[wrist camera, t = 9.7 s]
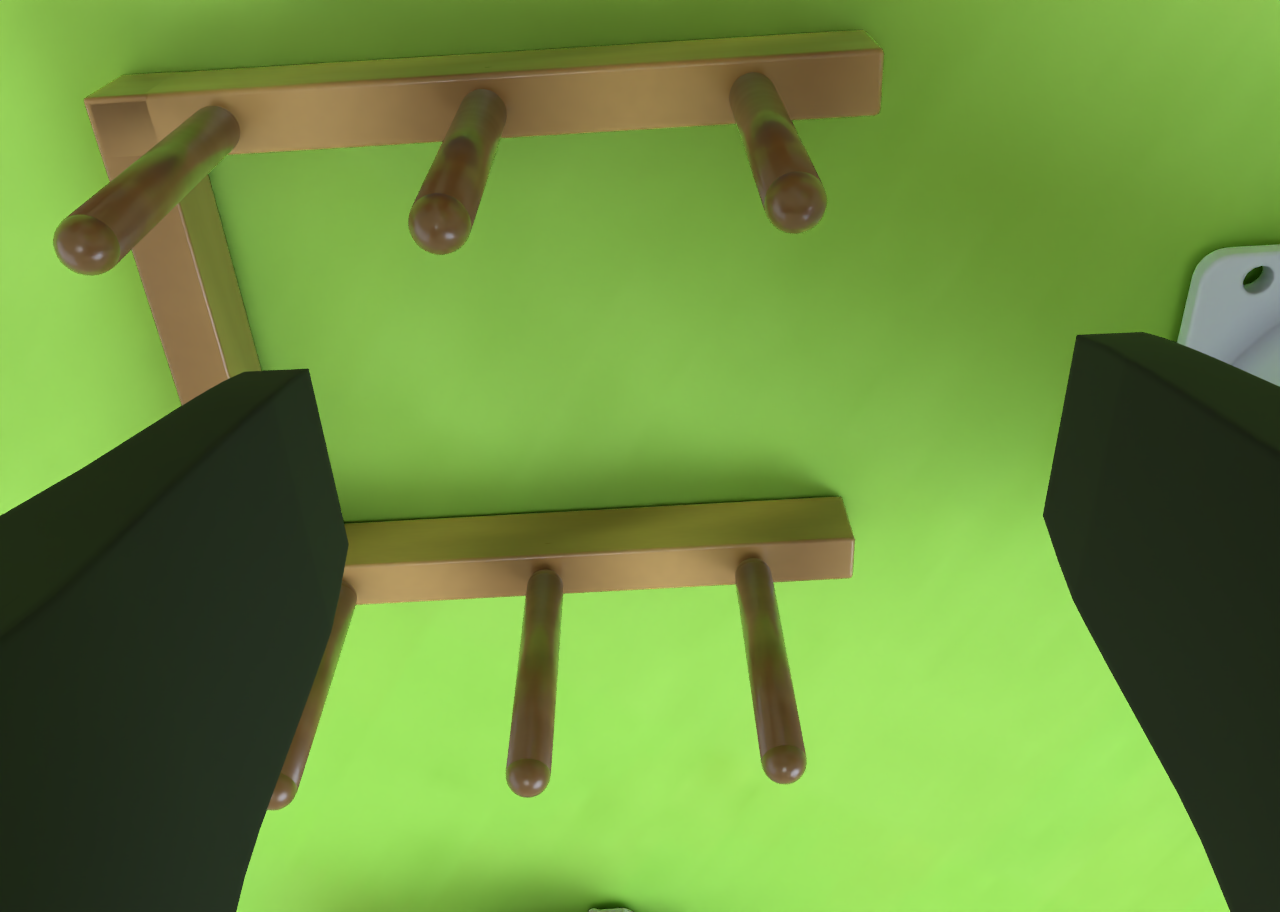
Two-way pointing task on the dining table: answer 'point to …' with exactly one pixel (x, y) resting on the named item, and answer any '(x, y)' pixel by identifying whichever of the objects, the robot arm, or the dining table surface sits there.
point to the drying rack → (440, 224)
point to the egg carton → (610, 910)
